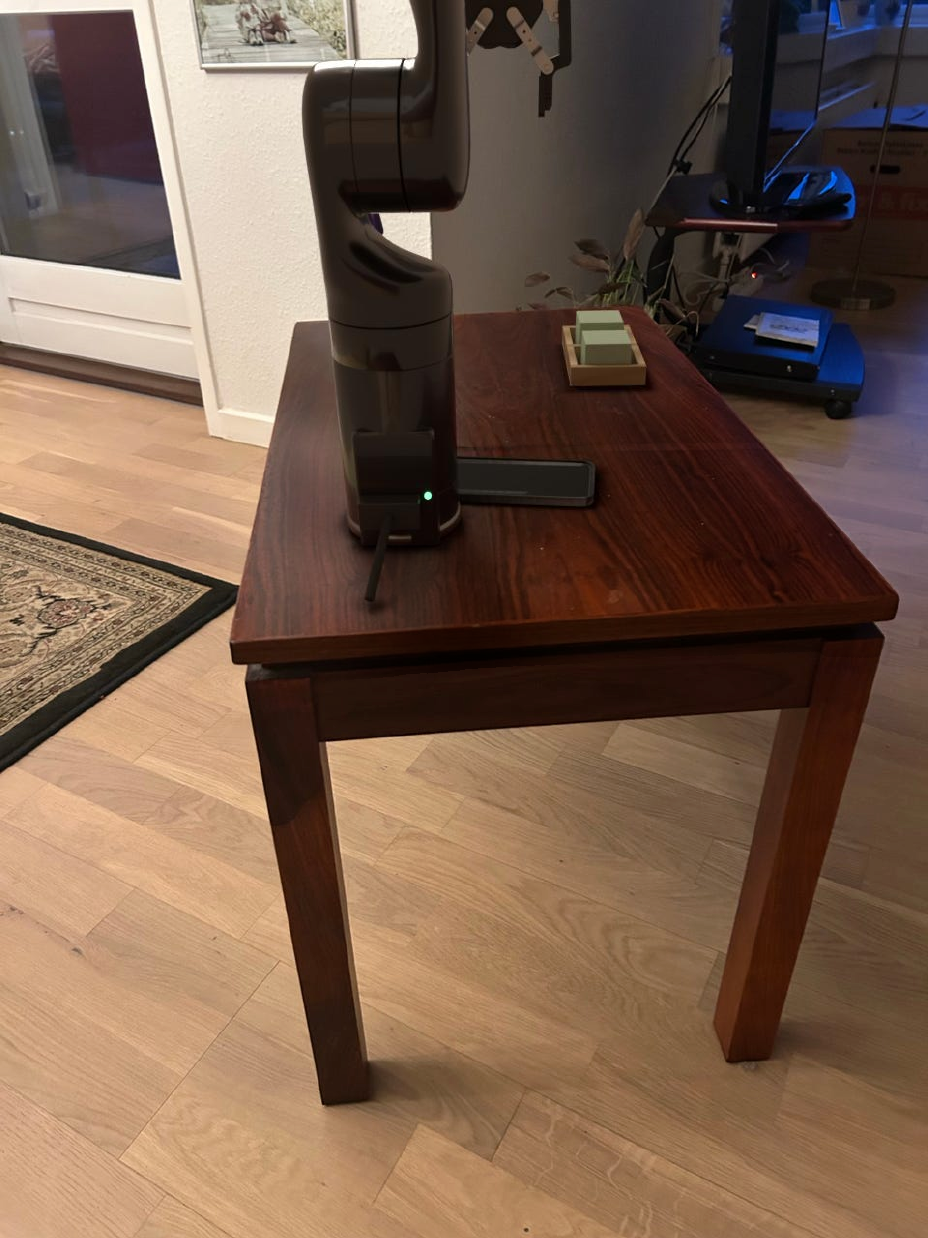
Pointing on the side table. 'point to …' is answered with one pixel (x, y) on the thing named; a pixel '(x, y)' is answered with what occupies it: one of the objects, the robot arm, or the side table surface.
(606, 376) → the holder
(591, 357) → the green foam block
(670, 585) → the side table surface
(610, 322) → the green block
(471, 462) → the phone
